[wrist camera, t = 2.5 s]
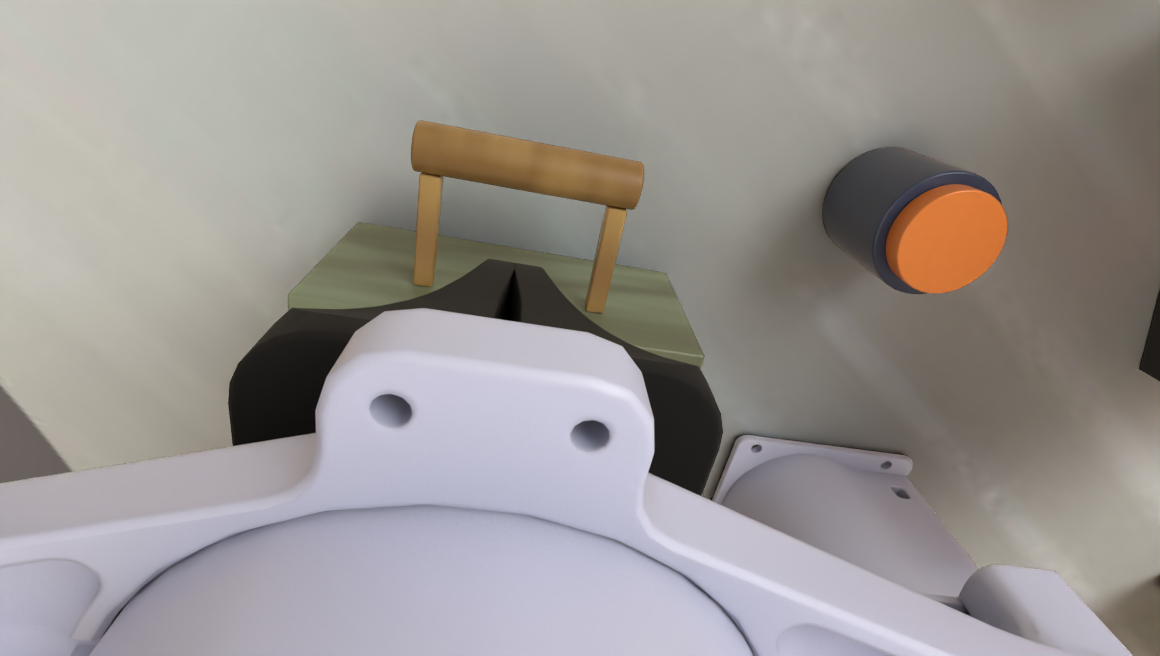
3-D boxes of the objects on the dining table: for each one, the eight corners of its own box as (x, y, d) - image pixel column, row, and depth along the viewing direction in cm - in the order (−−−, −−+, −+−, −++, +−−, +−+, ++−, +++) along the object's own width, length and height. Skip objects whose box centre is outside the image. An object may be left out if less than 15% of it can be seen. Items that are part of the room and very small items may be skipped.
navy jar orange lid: (951, 158, 23) (1048, 190, 18) (901, 261, 25) (978, 313, 20) (847, 136, 22) (922, 165, 18) (805, 244, 24) (863, 294, 20)
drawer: (360, 83, 20) (277, 109, 14) (701, 150, 21) (759, 199, 15) (354, 484, 28) (300, 609, 22) (599, 511, 29) (611, 634, 24)
